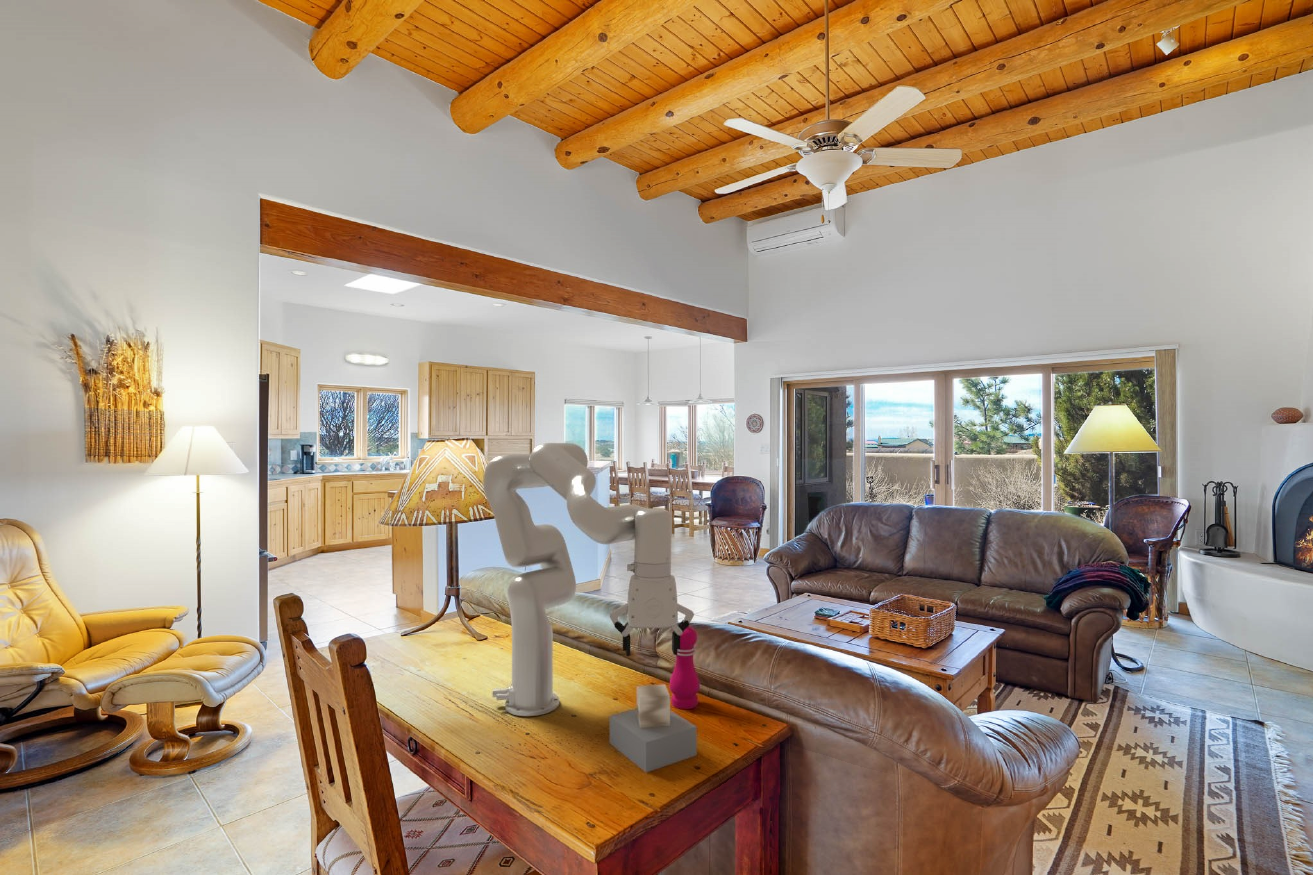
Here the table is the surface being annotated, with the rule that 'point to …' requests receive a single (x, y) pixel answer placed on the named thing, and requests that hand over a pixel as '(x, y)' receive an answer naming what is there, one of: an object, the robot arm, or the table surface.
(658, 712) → the cream block
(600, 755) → the table surface
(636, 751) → the slate block
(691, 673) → the pepper mill
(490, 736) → the table surface
